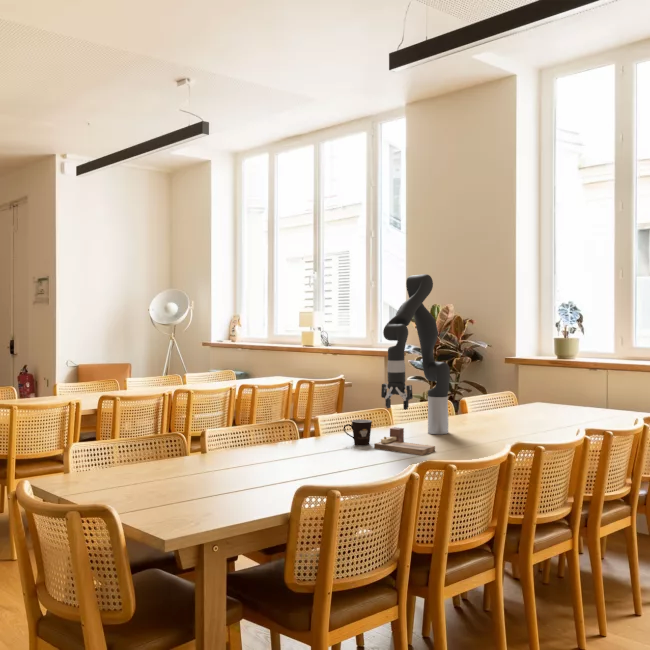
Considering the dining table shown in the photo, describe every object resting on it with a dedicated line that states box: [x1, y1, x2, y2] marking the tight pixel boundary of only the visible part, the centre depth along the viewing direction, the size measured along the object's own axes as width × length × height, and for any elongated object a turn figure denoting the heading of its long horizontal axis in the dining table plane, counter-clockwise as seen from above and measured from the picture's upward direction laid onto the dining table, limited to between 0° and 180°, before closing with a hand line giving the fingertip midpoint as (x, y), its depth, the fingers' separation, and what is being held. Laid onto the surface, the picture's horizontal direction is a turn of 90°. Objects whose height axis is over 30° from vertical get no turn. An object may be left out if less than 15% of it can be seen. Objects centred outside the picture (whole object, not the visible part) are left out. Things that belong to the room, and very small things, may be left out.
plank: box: [373, 441, 436, 456], centre depth 294 cm, size 10×23×2 cm, turn 52°
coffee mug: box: [343, 418, 373, 447], centre depth 307 cm, size 12×9×10 cm
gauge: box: [380, 426, 405, 443], centre depth 302 cm, size 12×4×7 cm, turn 142°
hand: (397, 408), depth 305 cm, fingers open, 8 cm apart
